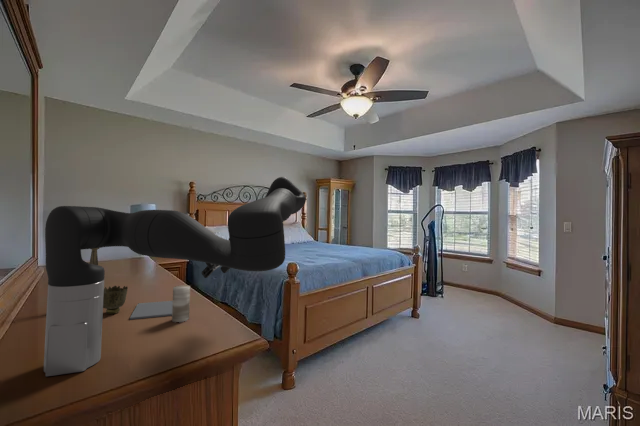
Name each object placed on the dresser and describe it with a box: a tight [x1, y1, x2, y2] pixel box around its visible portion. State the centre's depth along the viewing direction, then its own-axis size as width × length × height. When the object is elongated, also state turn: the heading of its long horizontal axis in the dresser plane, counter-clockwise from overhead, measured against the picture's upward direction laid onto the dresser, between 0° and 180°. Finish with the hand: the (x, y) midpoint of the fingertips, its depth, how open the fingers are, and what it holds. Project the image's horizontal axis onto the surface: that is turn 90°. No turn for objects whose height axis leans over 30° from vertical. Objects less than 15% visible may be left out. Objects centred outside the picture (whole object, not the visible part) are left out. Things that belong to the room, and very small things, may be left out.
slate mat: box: [129, 300, 173, 321], centre depth 100 cm, size 16×16×1 cm
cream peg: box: [171, 284, 191, 323], centre depth 90 cm, size 5×5×10 cm
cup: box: [103, 285, 128, 315], centre depth 95 cm, size 8×7×8 cm
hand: (213, 273), depth 87 cm, fingers open, 8 cm apart
